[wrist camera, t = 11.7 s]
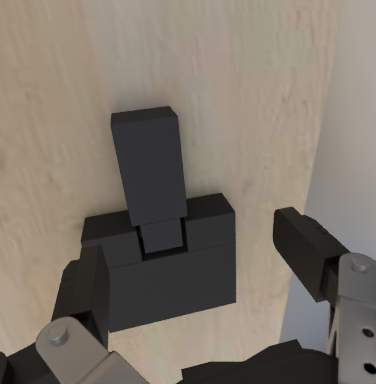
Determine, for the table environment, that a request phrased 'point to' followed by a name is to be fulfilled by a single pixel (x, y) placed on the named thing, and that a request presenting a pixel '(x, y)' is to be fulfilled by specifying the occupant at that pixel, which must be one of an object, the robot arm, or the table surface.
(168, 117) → the pad
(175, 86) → the table surface
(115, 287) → the base pad
